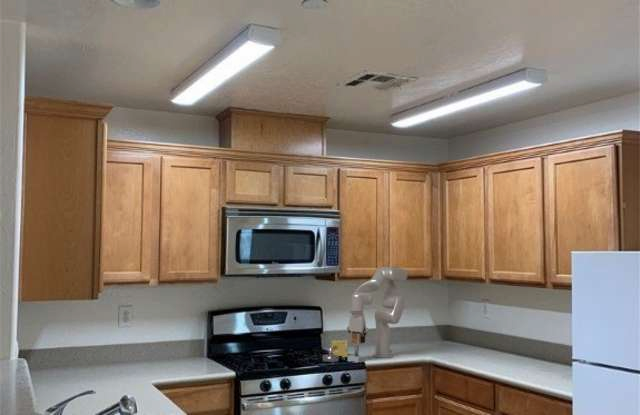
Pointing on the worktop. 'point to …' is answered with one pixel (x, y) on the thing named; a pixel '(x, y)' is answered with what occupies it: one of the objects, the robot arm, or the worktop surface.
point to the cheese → (340, 348)
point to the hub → (330, 356)
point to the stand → (356, 356)
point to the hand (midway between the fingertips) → (357, 341)
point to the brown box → (355, 337)
